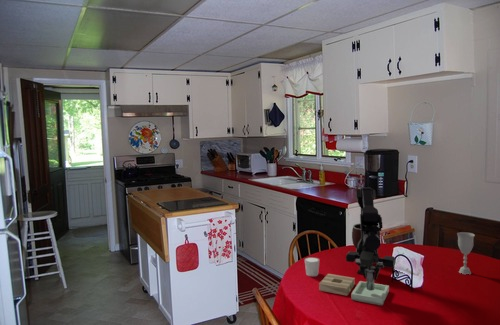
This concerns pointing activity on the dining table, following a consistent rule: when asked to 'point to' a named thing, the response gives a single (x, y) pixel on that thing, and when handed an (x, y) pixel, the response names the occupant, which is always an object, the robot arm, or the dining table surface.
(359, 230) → the mate gourd
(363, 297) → the tray
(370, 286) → the pin
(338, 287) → the hole block
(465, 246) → the chalice
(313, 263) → the cup
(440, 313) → the dining table surface
